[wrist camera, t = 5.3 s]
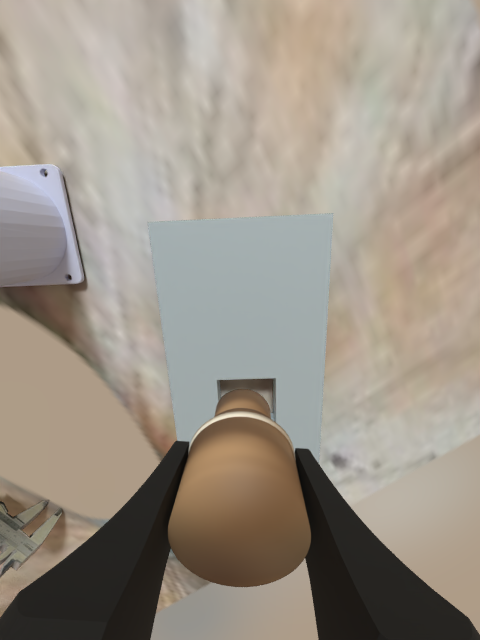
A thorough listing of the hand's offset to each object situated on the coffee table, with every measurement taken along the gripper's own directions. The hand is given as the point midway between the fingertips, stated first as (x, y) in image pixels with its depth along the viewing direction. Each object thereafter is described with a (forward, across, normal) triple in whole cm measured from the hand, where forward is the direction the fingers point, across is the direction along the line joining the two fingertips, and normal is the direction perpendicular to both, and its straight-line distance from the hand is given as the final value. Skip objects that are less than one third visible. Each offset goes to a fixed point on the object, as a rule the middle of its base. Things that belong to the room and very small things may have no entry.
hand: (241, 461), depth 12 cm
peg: (+3, 0, 0) cm, 3 cm away
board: (+10, 0, -1) cm, 10 cm away
